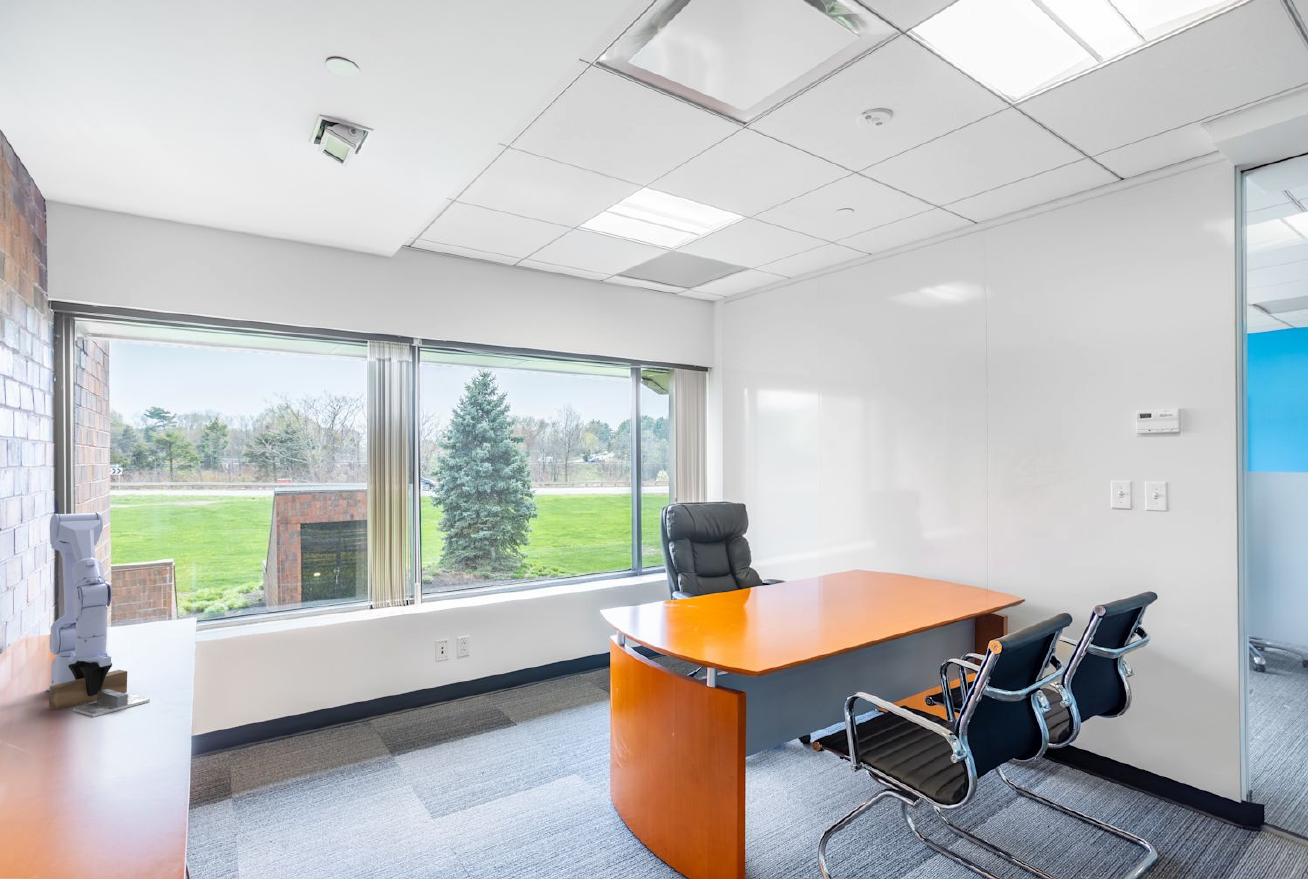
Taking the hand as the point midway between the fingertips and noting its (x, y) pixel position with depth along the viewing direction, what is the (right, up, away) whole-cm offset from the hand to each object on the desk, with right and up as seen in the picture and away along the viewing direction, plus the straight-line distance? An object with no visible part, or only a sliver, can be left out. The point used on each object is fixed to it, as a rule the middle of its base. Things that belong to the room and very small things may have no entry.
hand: (89, 693), depth 159 cm
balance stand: (+9, -1, -5) cm, 11 cm away
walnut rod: (0, -2, 0) cm, 2 cm away
